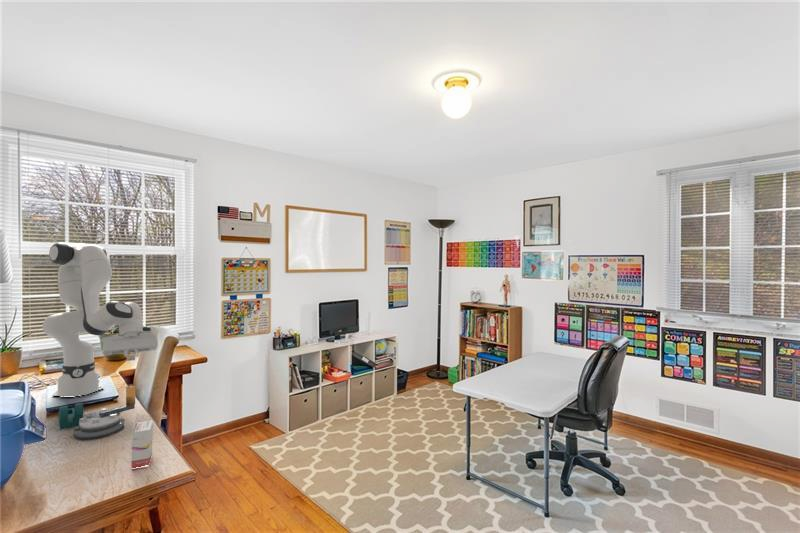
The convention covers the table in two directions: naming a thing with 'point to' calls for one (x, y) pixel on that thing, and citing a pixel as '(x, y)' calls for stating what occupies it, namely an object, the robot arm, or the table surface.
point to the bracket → (70, 416)
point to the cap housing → (99, 432)
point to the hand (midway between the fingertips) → (131, 359)
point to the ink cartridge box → (141, 443)
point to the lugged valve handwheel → (107, 415)
